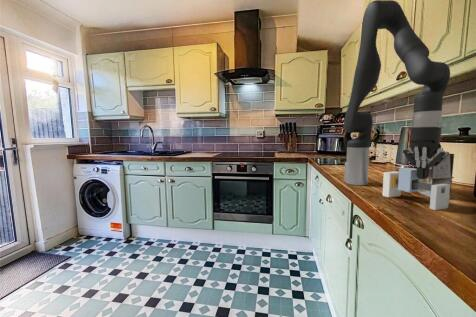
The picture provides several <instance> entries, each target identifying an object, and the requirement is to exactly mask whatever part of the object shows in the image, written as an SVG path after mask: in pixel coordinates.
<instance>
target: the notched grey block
mask: <svg viewBox="0 0 476 317" xmlns="http://www.w3.org/2000/svg"><path fill="white" fill-rule="evenodd" d="M398 172H399V180H398V190H401V192H405V193H414V192H417V191H419V189H418V188H413V187H412V181H415V182H420V179H418V177H417V168H414V167H413V168H412V167H405V168H404V167H403V168H402V167H401V168H399V169H398Z"/></svg>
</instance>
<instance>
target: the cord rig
mask: <svg viewBox="0 0 476 317" xmlns="http://www.w3.org/2000/svg"><path fill="white" fill-rule="evenodd" d="M398 180H399V171H396V170H395V171H384V172H383V179H382V196H383V197H386V198H396V197H401V195H402V191H401V190H398ZM412 187H413V188H418V189H423V190H428V191H431V197H429V199H430V200H429V209H430V210H434V211H438V210H444V209H448V208H449V205H450V203H449V202H450V199H449V192H450V184H436V185H432V184H426V183H421V182H415V181H412Z"/></svg>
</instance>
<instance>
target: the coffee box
mask: <svg viewBox="0 0 476 317" xmlns="http://www.w3.org/2000/svg"><path fill="white" fill-rule="evenodd" d="M436 154H437V153H436ZM436 154H435V155H434V156H433V159H434V158H435V157H436V156H437V155H436ZM420 158H421V157H420ZM454 159H455V154H454V153H450V152H449V155H448V156H447V157H446V158H445V159H444V160H443V161H441V162H440V163H439V164H438V165H437V166H435V167H430V168H429V177H428V178H427V179H420V182H421V183H426V184H432V185H436V184H450V192H449V200H450V199H451V198H452V196H451V195H452V182H453V173H454V172H453V171H454ZM416 192H417V193H418V192H419V193H418V194H422V195H424V196H426V197H428V198H430V197H431V191H428V190H423V189H419V191H416Z"/></svg>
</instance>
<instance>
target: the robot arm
mask: <svg viewBox="0 0 476 317" xmlns="http://www.w3.org/2000/svg"><path fill="white" fill-rule="evenodd" d="M384 29H385V30H386V31H388V33H391V35H392V37H393V49H394V52H395V53H396V55H397V56H398V58H399V60H401V61H402V63H403V64H404V67H405V70H406V74H407V75H408V78H409V80H411V82H412V83H413V84H415V85H421V86H423V89H422V92H421V93H419V94H417V95H416V96H415V97H414V99H413V109H412V110H413V111H412V118H411V126H410V128H411V130H410V141H411V142H410V144H409V147H408V148H406V149H403V150H402V153H403V155H404V157H405V158H406V159H407V160H408V162H409V163H410V164H411V166H415V167H416V169H417V177H418V179H427V178H428V177H429V168H430V167H435V166H437V165H438V164H439V163H440V162H441V161H443V160H444V159H445V158H446V157H447V156H448V155H449V153H450V152H449V151H445V150H444V149H443V148H442V145H441V140H442V127H443V113H442V112H443V97H444V96H445V93H446V90H447V87H448V85H449V81H450V79H451V78H450V77H451V68H450V67H449V65H448V64H447V63H445V62H441V61H433V60H431V59H430V58H429V56H430V49H429V48H428V46H427V45H426V44H425V43H424V42H423V41H422V39H421V38H420V37H419V36H418V35H417V34H416V33H415V31H414V29H413V28H412V26H411V24H410V22H409V20H408V18H407V16H406V15H405V12H404V10H403V8H402V6H401V4H400V3H399V2H398V1H396V0H373V1H371V2H370V3H369V4H368V5H367V7H366V9H365V10H364V14H363V17H362V22H361V33H360V43H359V51H358V56H357V61H356V66H355V70H354V75H353V81H352V88H351V94H350V98H349V101H348V105H347V109H346V112H345V115H344V120H343V129H344V132H346V133H349V134H351V133H353V134H355V133H358V135H357V136H356V137H355V138H353V139H350V140H348V141H347V143H346V161H345V162H344V175H343V178H344V179H343V180H344V181H343V182H344V183H346V184H347V185H351V186H367V185H368V183H369V182H368V181H369V163H370V144H371V140H372V132H373V131H372V130H373V116H372V114H371V113H370V112H367V111H365V112H363V111H362V112H361V111H360V112H359V108H360V107H361V104H362V103H363V101H364V100H365V99H366V98H367V97H368V95H369V94H370V93H371V92H372V91H373V90H374V88H375V87H376V86H377V84H378V81H379V78H380V75H381V70H382V60H381V57H380V54H379V51H378V49H377V39H378V38H377V37H378V32H379V30H384ZM436 153H437V154H436ZM435 154H436V155H437V156H436V157H435V158H434V159H433V156H434V155H435ZM420 157H421V158H420Z"/></svg>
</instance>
